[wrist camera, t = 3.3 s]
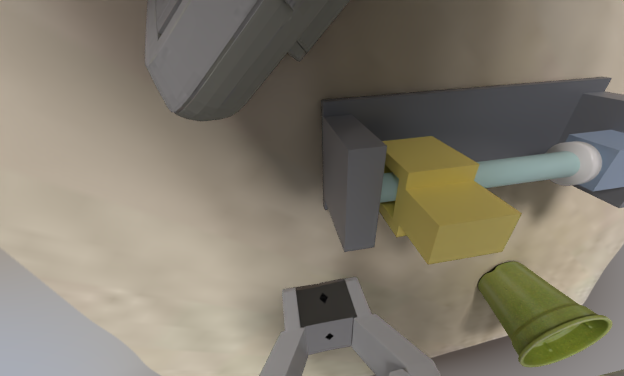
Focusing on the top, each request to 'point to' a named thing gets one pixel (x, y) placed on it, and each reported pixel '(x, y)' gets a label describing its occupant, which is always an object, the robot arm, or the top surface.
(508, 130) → the grey rectangular frame
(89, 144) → the top surface
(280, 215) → the top surface
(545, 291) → the plant pot
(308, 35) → the digital clock
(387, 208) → the yellow stepped block
